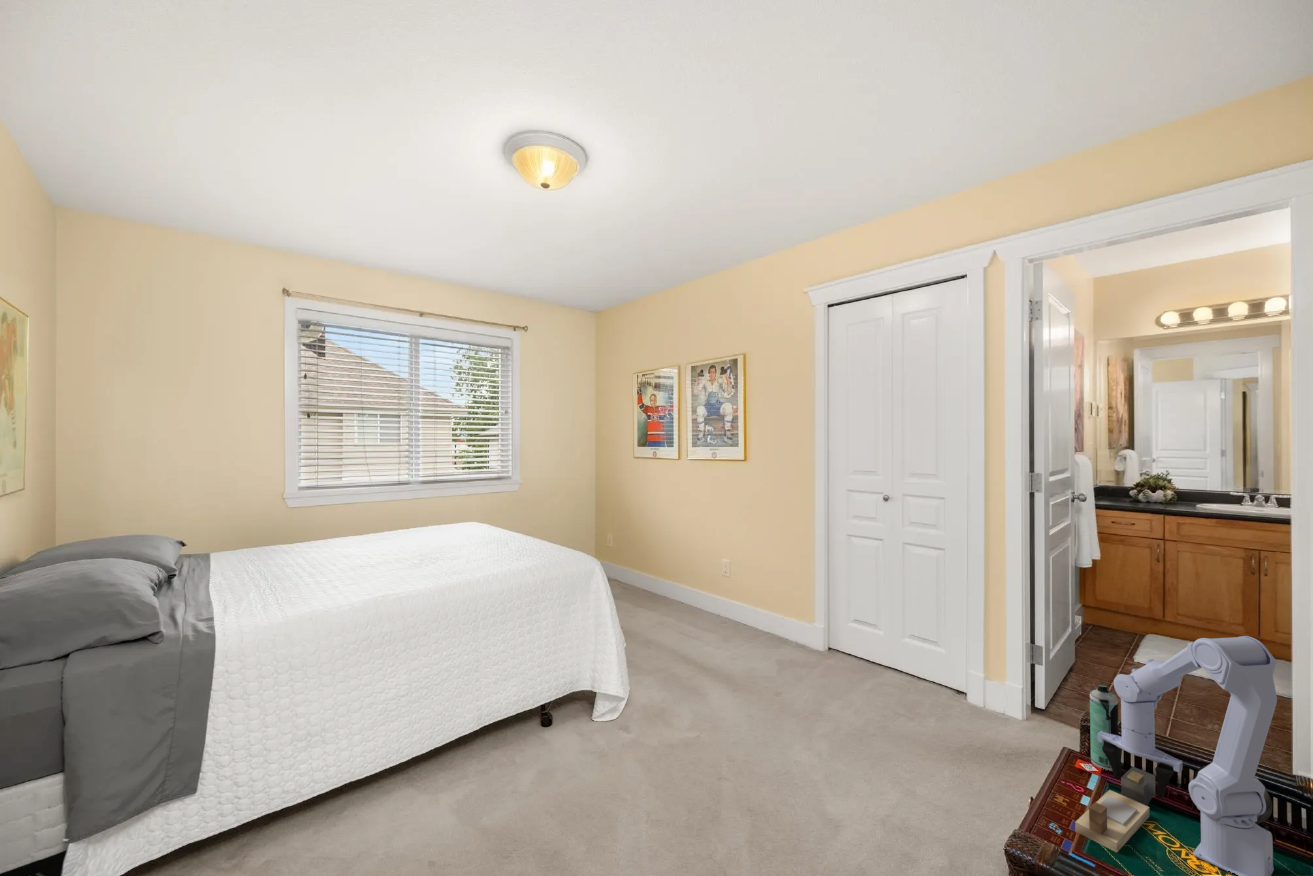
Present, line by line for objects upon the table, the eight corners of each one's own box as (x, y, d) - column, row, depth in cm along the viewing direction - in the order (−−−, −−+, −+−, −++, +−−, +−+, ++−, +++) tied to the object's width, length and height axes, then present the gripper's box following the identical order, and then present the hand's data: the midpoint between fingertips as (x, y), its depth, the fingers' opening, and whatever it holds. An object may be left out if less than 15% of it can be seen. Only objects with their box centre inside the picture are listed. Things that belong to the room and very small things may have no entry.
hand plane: (1149, 816, 118) (1148, 786, 118) (1116, 852, 108) (1116, 820, 108) (1109, 798, 124) (1109, 770, 124) (1075, 831, 114) (1074, 800, 114)
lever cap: (1155, 797, 124) (1155, 772, 124) (1144, 809, 120) (1143, 783, 120) (1133, 787, 127) (1132, 763, 127) (1121, 799, 123) (1120, 774, 123)
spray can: (1124, 772, 132) (1123, 691, 132) (1098, 770, 134) (1097, 690, 133) (1110, 759, 138) (1109, 681, 138) (1086, 757, 139) (1084, 679, 139)
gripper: (1186, 736, 120) (1187, 797, 120) (1105, 709, 132) (1106, 764, 132) (1175, 747, 116) (1177, 810, 116) (1093, 717, 128) (1094, 774, 128)
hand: (1138, 786), depth 124 cm, fingers open, 7 cm apart
